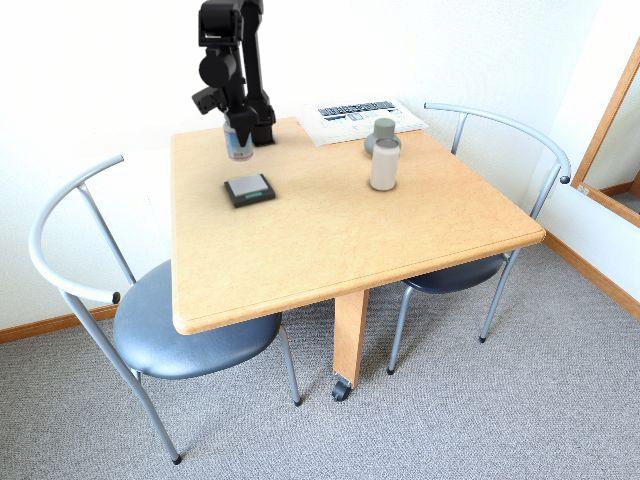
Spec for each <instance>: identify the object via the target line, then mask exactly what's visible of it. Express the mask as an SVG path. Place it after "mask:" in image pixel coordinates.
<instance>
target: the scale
mask: <svg viewBox="0 0 640 480" xmlns="http://www.w3.org/2000/svg"><path fill="white" fill-rule="evenodd" d="M268 181H269V180H267V178H266V177H265V175H264V174H263V173H255V174H250V175H246V176H241V177H238V178H233V179H228V180H227V181H223V185H224V188H225V191H226V193H227V196H228V197H229V200H230V201H231V204H232V206H233V207H234V209H238V208H241V207H245V206H246V207H247V206H250V205H254V204H258V203H263V202H267V201H270V200H274V199H276V192H275V191H274V189H273V187H272V186H271V184H270V183H269V182H268Z"/></svg>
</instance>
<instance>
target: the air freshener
mask: <svg viewBox="0 0 640 480" xmlns="http://www.w3.org/2000/svg"><path fill="white" fill-rule="evenodd" d="M395 130H396V121H395V120H394V119H392V118H390V117H389V118H388V117H380V118H377V119H375V121H374V124H373V132H372V133H370V134H368V135H367V136H366V137H365V139H364V141H363V147H364V148H363V149H364V150H365V151H366V153H368V154H369V155H370V156H372V157H373V149H374V146H375V144H376V141H377V140H378V139H380V138H392V139H395V140H397V141H398V142H399V148H400V150H402V149H401V148H402V141H401V139H400V138H399V137H398V136H397V135H396V134H395Z"/></svg>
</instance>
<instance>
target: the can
mask: <svg viewBox="0 0 640 480" xmlns="http://www.w3.org/2000/svg"><path fill="white" fill-rule="evenodd" d="M400 151H401V149H400V148H399V142H398V141H397V140H395V139H392V138H380V139H378V140H377V141H376V144H375V146H374V149H373V156H372V160H371V169H370V170H371V171H370V178H369V184H370V186H371V187H372V188H373V189H374V190H376V191H379V192H380V191H381V192H387V191H390V190H392V189H393V188H394V187H395V185H396V179H397V173H398V167H399V166H398V165H399V159H400Z"/></svg>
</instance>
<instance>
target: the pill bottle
mask: <svg viewBox="0 0 640 480" xmlns="http://www.w3.org/2000/svg"><path fill="white" fill-rule="evenodd" d="M227 111H228V110H225V111H224V114H223V118H224V120H225V121H224V122H223V124H222V130H223V134H224V140H225V145H226V150H227V155H228V158H229V160H230V161H233V162H236V163H237V162H238V163H239V162H247V161H249V160H250V159H252V158H253V156H254V148H253V143H252V140H251V133H250V135H249V137H248V140H247V143H246V146H245V147H240V144H239V141H238V139H237V136H236V133H235V130H234V129H233V128H230V127H229V126H228V124H227V122H226V121H227V119H226V112H227Z"/></svg>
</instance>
